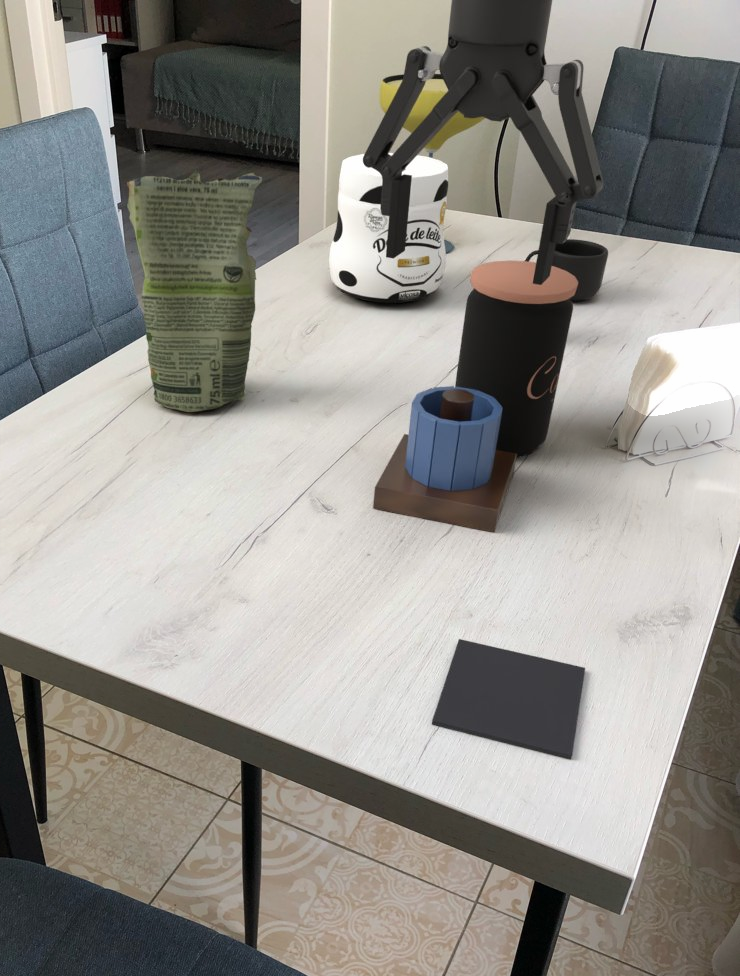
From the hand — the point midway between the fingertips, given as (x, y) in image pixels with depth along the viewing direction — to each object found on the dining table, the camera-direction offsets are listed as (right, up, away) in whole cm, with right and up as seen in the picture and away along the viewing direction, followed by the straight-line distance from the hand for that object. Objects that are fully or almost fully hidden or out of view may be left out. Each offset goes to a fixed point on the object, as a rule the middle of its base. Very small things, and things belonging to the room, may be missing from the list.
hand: (466, 267), depth 83 cm
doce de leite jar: (-1, +17, +60) cm, 62 cm away
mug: (+25, +17, +60) cm, 67 cm away
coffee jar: (+7, -12, +22) cm, 26 cm away
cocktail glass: (+7, +31, +78) cm, 85 cm away
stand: (0, -18, +12) cm, 22 cm away
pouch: (-26, -5, +29) cm, 39 cm away
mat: (+1, -37, -12) cm, 39 cm away
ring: (0, -16, +11) cm, 20 cm away
